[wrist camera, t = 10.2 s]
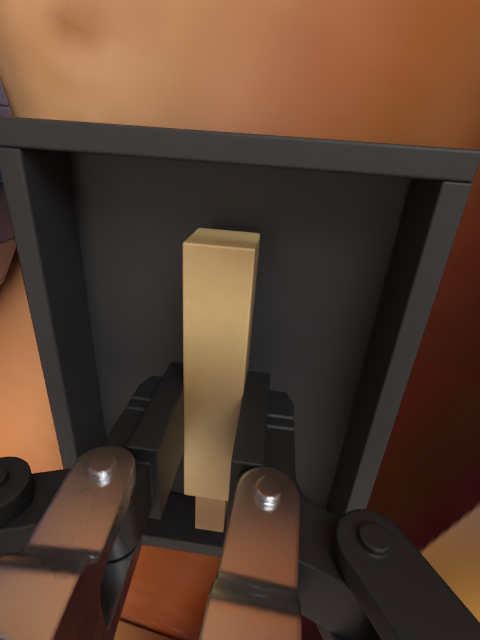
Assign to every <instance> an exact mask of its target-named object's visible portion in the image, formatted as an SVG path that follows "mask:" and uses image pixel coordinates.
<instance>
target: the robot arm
mask: <svg viewBox="0 0 480 640" xmlns="http://www.w3.org/2000/svg"><path fill="white" fill-rule="evenodd" d="M270 376H271V373H263V372H255V371H248V372H247V377H246V383H245V389H244V395H243V397H242V403H241V408H240V414H239V420H238V425H237V431H236V437H235V442H234V448H233V454H232V459H231V470H230V484H229V498H228V512H227V525H226V530H227V531H226V535H225V540H224V544H223V549H222V554H221V558H220V563H219V567H218V572H217V576H216V579H215V581H213V583H212V586H211V590H210V593H209V597H208V602H207V606H206V610H205V615H204V619H203V624H202V628H201V632H200V637H199V640H301V614H302V615H303V616H305V617H307V618H309V619H310V620H312V621H314V622H316V623H317V627H318V629H319V631H320V633H321V635H322V637H323V639H324V640H480V623H479V621H478V620H477V619H476V618H475V617H474V616H473V614H472V613H471V612H470V611H469V610H468V608H467V607H466V606H465V605H464V604H463V603H462V601H461V600H460V599H459V598H458V597H457V596H456V594H455V593H454V592H453V591H452V590H451V588H450V587H449V586H448V585H447V584H446V583H445V581H444V580H443V579H442V578H441V577H440V576H439V574H438V573H437V572H436V571H435V570H434V569H433V568H432V566H431V565H430V564H429V563H428V561H427V560H426V559H425V558H424V557H423V556H422V554H421V553H420V552H419V551H418V550H417V548H416V547H415V546H414V545H413V544H412V543H411V541H410V540H409V539H408V538H407V537H406V535H405V534H404V533H403V532H402V531H401V530H400V529H399V527H398V526H397V525H396V524H395V523H393V522H392V521H391V520H390V519H388V518H387V517H385V516H384V515H382V514H380V513H377V512H375V511H372V510H367V509H355V510H351V511H349V512H347V513H345V514H344V515H343V516H342V517H341V516H339V515H337V514H334V513H332V512H330V511H328V510H326V509H323V508H322V507H320V506H318V505H316V504H315V503H313V502H312V501H311V500H310V499H309V498H307V497H306V495H305V494H304V493H303V492H302V490H301V489H300V487H299V485H298V483H297V480H296V471H295V432H294V404H293V402H292V400H291V399H290V397H289V396H288V394H287V392H281V391H273V390H270ZM183 451H184V388H183V363H180V362H171V363H170V364H169V366H168V368H167V370H166V372H165V374H164V376H163V377H160V376H151V377H150V378H148V379H147V380H145V381H144V382H143V383H141V384H140V385H139V386H138V388H137V389H136V391H135V393H134V394H133V396H132V399H130V401H129V403H128V404H127V406H126V409H124V411H123V412H122V414H121V416H120V417H119V419H118V421H117V422H116V424H115V425H114V427H113V429H112V430H111V432H110V434H109V435H108V437H107V438H106V440H105V442H104V443H103V445H102V446H101V447H97V448H94V449H92V450H90V451H88V452H86V453H84V454H83V455H82V456H80V457H79V458H78V459H77V460H76V461H75V462H74V464H73V465H72V467H71V468H68V469H63V470H56V471H49V472H41V473H34V474H32V473H31V470H30V466H29V465H28V463H27V462H26V461H24V460H23V459H20V458H17V457H2V458H0V640H114V636H115V632H116V629H117V625H118V622H119V619H120V615H121V612H122V609H123V605H124V602H125V599H126V596H127V592H128V589H129V586H130V582H131V579H132V576H133V573H134V569H135V566H136V563H137V559H138V556H139V553H140V549H141V545H142V534H143V531H144V528H145V526H146V523H147V520H148V518H154V519H160V520H161V517H162V514H163V511H164V508H165V505H166V502H167V499H168V496H169V493H170V490H171V487H172V484H173V481H174V478H175V475H176V472H177V469H178V466H179V463H180V460H181V457H182V454H183Z"/></svg>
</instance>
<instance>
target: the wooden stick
mask: <svg viewBox="0 0 480 640" xmlns="http://www.w3.org/2000/svg"><path fill="white" fill-rule="evenodd" d="M259 243H260V234H259V233H252V232H241V231H229V230H218V229H207V228H198V229H197V230H196V231H195V232H194V233H193V234H192V235H191V236H190V237H189V238H187V239H186V240H185V241H184V242H183V244H182V246H183V388H184V494H185V495H190V496H195V528H198V529H204V530H211V531H217V532H223V531H224V526H225V520H226V514H227V508H228V498H229V484H230V470H231V459H232V454H233V448H234V442H235V437H236V431H237V425H238V420H239V414H240V408H241V403H242V397H243V395H244V389H245V383H246V377H247V372H248V368H249V357H250V345H251V334H252V323H253V311H254V300H255V289H256V277H257V266H258V254H259Z"/></svg>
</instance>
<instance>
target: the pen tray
mask: <svg viewBox="0 0 480 640" xmlns="http://www.w3.org/2000/svg"><path fill="white" fill-rule="evenodd" d="M479 161H480V150H472V149H458V148H444V147H429V146H415V145H401V144H387V143H373V142H359V141H345V140H330V139H316V138H302V137H288V136H274V135H260V134H246V133H231V132H217V131H203V130H189V129H175V128H161V127H147V126H133V125H118V124H104V123H90V122H76V121H62V120H48V119H34V118H19V117H5V116H0V172H1V177H2V181H3V186H4V191H5V196H6V200H7V205H8V210H9V214H10V219H11V224H12V228H13V233H14V238H15V243H16V247H17V252H18V257H19V261H20V266H21V271H22V275H23V280H24V285H25V290H26V294H27V299H28V304H29V308H30V313H31V318H32V322H33V327H34V332H35V337H36V341H37V346H38V351H39V355H40V360H41V365H42V370H43V374H44V379H45V384H46V388H47V393H48V398H49V402H50V407H51V412H52V417H53V421H54V426H55V431H56V435H57V440H58V445H59V449H60V454H61V459H62V464H63V468H64V469H68V468H71V467H72V465H73V464H74V462H75V461H76V460H77V459H78V458H79V457H80V456H82V455H83V454H84V453H86V452H88V451H90V450H92V449H94V448H97V447H101V446H102V445H103V443H104V442H105V440H106V438H107V437H108V435H109V434H110V432H111V430H112V429H113V427H114V425H115V424H116V422H117V421H118V419H119V417H120V416H121V414H122V412H123V411H124V409H126V406H127V404H128V403H129V401H130V399H132V396H133V394H134V393H135V391H136V389H137V388H138V386H139V385H140V384H141V383H143V382H144V381H145V380H147V379H148V378H150V377H151V376H160V377H163V376H164V374H165V372H166V370H167V368H168V366H169V364H170V363H171V362H180V363H183V246H182V244H183V242H184V241H185V240H186V239H187V238H189V237H190V236H191V235H192V234H193V233H194V232H195V231H196V230H197V229H198V228H207V229H218V230H229V231H241V232H252V233H259V234H260V243H259V254H258V266H257V277H256V289H255V300H254V311H253V323H252V334H251V345H250V357H249V368H248V371H255V372H263V373H271V376H270V390H273V391H281V392H287V394H288V396H289V397H290V399H291V400H292V402H293V404H294V432H295V471H296V480H297V483H298V485H299V487H300V489H301V490H302V492H303V493H304V494H305V495H306V497H307V498H309V499H310V500H311V501H312V502H313V503H315V504H316V505H318V506H320V507H322V508H323V509H326V510H328V511H330V512H332V513H334V514H337V515H339V516H341V517H342V516H343V515H344V514H345V513H347V512H349V511H351V510H355V509H366V506H367V503H368V500H369V497H370V494H371V491H372V488H373V485H374V482H375V479H376V476H377V473H378V470H379V467H380V464H381V461H382V458H383V455H384V452H385V449H386V446H387V443H388V440H389V436H390V433H391V430H392V427H393V424H394V421H395V418H396V415H397V412H398V409H399V406H400V403H401V400H402V397H403V394H404V391H405V388H406V385H407V382H408V379H409V376H410V373H411V370H412V367H413V363H414V360H415V357H416V354H417V351H418V348H419V345H420V342H421V339H422V336H423V333H424V330H425V327H426V324H427V321H428V318H429V315H430V312H431V309H432V306H433V303H434V300H435V297H436V294H437V290H438V287H439V284H440V281H441V278H442V275H443V272H444V269H445V266H446V263H447V260H448V257H449V254H450V251H451V248H452V245H453V242H454V239H455V236H456V233H457V230H458V227H459V224H460V221H461V217H462V214H463V211H464V208H465V205H466V202H467V199H468V196H469V193H470V190H471V187H472V184H471V183H469V182H472V181H473V179H474V177H475V174H476V171H477V167H478V164H479ZM227 512H228V508H227ZM226 525H227V514H226V520H225V526H224V531H223V532H217V531H211V530H204V529H198V528H195V496H190V495H185V494H184V451H183V454H182V457H181V460H180V463H179V466H178V469H177V472H176V475H175V478H174V481H173V484H172V487H171V490H170V493H169V496H168V499H167V502H166V505H165V508H164V511H163V514H162V517H161V520H160V519H154V518H148V520H147V523H146V526H145V528H144V531H143V534H142V545H148V546H155V547H161V548H167V549H174V550H180V551H186V552H193V553H199V554H205V555H211V556H218V557H221V554H222V549H223V544H224V540H225V535H226V531H227V530H226Z"/></svg>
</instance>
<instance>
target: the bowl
mask: <svg viewBox="0 0 480 640" xmlns="http://www.w3.org/2000/svg"><path fill="white" fill-rule="evenodd" d="M0 116H5V117H13V115H12V110H11V107H10V103H9V101H8V98H7V96H6V93H5V90H4V87H3V84H2V81H1V78H0ZM15 249H16V243H15V238H14V233H13V228H12V224H11V219H10V214H9V210H8V205H7V200H6V196H5V191H4V186H3V181H2V177H1V172H0V285H1V284H2V282H3V281H4V278H5V277H6V274H7V271H8V269H9V266H10V263H11V260H12V258H13V255H14V252H15Z"/></svg>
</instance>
